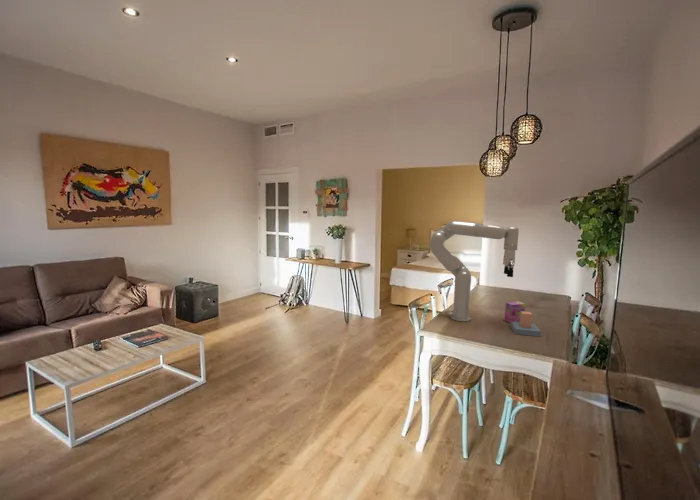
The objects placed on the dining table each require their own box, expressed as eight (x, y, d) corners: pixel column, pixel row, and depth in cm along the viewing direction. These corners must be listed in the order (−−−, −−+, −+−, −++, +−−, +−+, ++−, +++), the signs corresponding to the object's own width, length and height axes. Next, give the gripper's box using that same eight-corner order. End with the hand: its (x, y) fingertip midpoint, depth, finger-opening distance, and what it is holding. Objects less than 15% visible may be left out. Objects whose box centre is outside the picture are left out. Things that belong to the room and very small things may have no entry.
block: (521, 327, 208) (522, 313, 207) (519, 324, 213) (520, 311, 212) (530, 328, 207) (532, 314, 206) (528, 325, 212) (529, 312, 211)
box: (510, 323, 225) (511, 304, 224) (504, 320, 231) (505, 302, 229) (524, 321, 228) (525, 303, 226) (517, 319, 233) (519, 301, 232)
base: (515, 334, 205) (515, 329, 205) (510, 326, 219) (510, 321, 218) (540, 336, 202) (541, 331, 202) (533, 328, 216) (534, 323, 215)
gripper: (501, 245, 227) (499, 272, 229) (506, 248, 211) (504, 277, 213) (514, 246, 226) (511, 273, 228) (520, 249, 209) (518, 278, 211)
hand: (508, 275), depth 220 cm, fingers open, 9 cm apart
